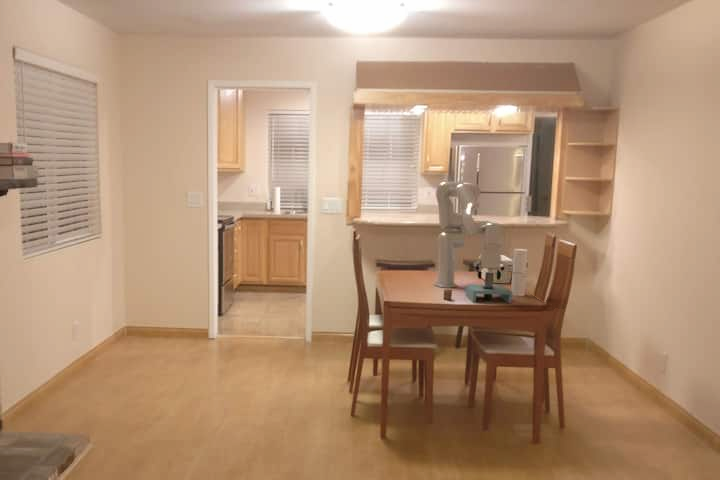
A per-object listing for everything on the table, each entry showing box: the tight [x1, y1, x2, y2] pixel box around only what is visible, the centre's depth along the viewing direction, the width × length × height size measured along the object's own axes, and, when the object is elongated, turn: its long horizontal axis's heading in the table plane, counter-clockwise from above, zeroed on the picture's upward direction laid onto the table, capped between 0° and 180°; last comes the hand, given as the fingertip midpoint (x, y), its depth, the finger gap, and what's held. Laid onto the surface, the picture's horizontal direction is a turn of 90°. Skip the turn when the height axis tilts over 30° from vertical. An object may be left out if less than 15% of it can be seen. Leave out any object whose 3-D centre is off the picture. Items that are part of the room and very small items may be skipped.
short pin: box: [443, 288, 453, 301], centre depth 289 cm, size 4×4×5 cm
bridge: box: [465, 283, 513, 304], centre depth 293 cm, size 16×20×6 cm
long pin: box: [483, 272, 494, 301], centre depth 293 cm, size 4×4×14 cm
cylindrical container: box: [510, 248, 529, 297], centre depth 306 cm, size 7×7×25 cm
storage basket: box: [478, 254, 513, 284], centre depth 348 cm, size 24×16×15 cm
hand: (488, 279), depth 292 cm, fingers open, 9 cm apart
